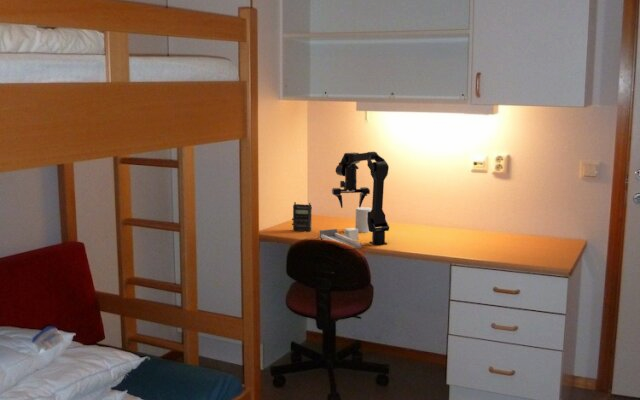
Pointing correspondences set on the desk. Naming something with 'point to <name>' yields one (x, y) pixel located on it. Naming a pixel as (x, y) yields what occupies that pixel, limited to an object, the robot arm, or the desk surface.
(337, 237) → the rail board
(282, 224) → the desk surface
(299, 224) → the geiger counter
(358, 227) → the cup
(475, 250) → the desk surface
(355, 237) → the block
